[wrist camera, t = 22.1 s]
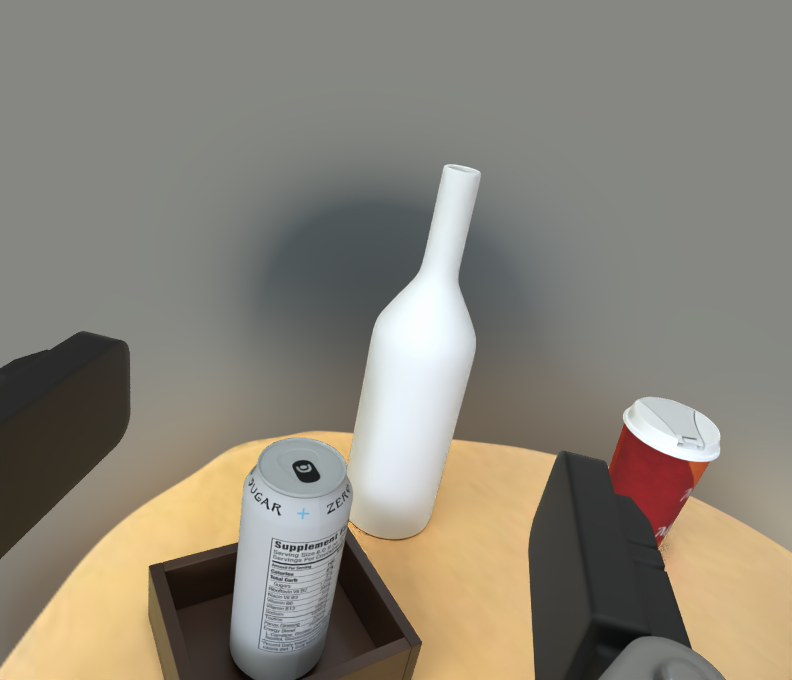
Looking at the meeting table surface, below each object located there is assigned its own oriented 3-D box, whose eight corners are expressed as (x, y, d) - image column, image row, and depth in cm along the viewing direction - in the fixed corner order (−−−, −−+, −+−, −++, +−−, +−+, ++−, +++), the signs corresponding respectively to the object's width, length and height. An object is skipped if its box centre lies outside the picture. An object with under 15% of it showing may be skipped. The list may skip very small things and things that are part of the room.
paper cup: (674, 586, 51) (745, 455, 45) (587, 571, 51) (646, 437, 45) (644, 522, 58) (701, 401, 52) (567, 508, 58) (616, 385, 52)
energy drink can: (303, 598, 43) (331, 424, 36) (337, 672, 38) (376, 489, 32) (217, 624, 40) (231, 440, 33) (244, 708, 35) (266, 514, 29)
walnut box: (332, 559, 47) (340, 514, 45) (408, 690, 39) (422, 642, 37) (148, 615, 40) (148, 565, 38) (192, 791, 32) (195, 738, 30)
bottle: (370, 552, 48) (453, 182, 36) (325, 489, 54) (382, 150, 41) (448, 524, 53) (546, 187, 40) (398, 469, 59) (470, 158, 46)
